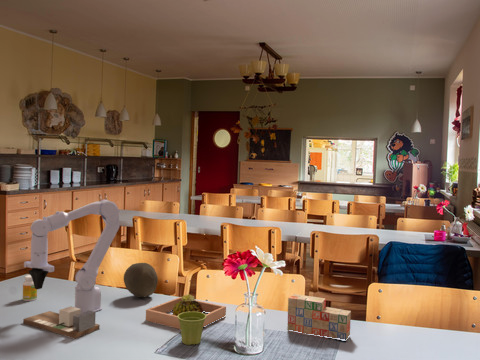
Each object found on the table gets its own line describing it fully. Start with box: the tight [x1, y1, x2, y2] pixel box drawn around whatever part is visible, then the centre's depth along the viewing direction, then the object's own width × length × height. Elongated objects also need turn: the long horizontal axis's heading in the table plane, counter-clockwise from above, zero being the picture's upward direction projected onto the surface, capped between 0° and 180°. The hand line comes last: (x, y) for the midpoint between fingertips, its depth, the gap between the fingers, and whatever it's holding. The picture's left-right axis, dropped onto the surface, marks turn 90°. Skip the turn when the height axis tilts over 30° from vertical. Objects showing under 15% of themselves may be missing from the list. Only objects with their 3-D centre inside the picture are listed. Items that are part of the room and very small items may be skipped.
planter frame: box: [145, 296, 227, 330], centre depth 178 cm, size 21×22×4 cm
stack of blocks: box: [286, 293, 352, 340], centre depth 166 cm, size 21×6×12 cm, turn 64°
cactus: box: [171, 294, 204, 316], centre depth 175 cm, size 17×16×10 cm
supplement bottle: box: [22, 274, 38, 302], centre depth 195 cm, size 5×5×10 cm
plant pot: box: [178, 312, 206, 346], centre depth 154 cm, size 9×9×9 cm
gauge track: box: [22, 310, 100, 339], centre depth 165 cm, size 11×26×6 cm, turn 60°
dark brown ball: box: [123, 262, 159, 298], centre depth 203 cm, size 14×14×15 cm
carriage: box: [56, 306, 81, 326], centre depth 161 cm, size 8×5×5 cm, turn 150°
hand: (38, 288), depth 174 cm, fingers closed
